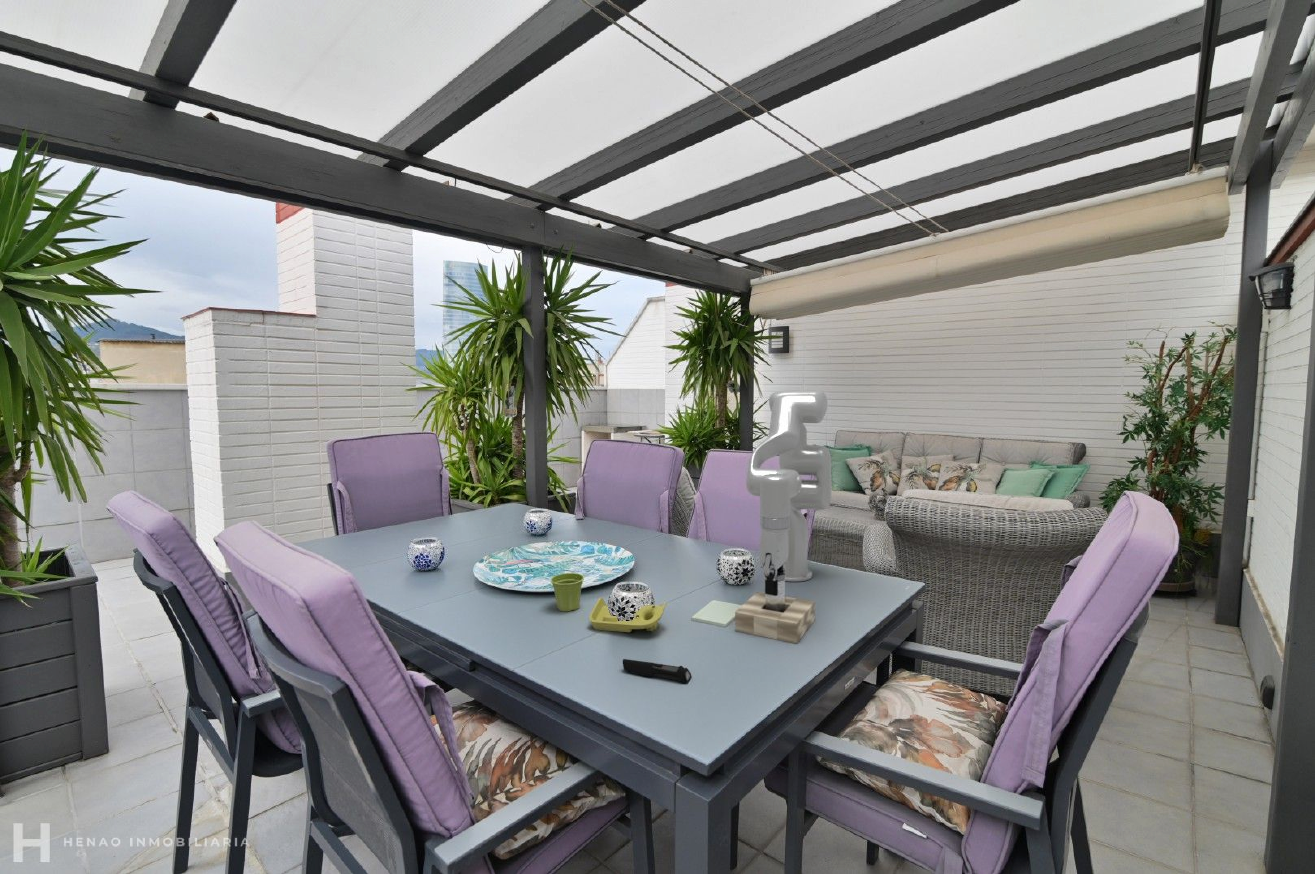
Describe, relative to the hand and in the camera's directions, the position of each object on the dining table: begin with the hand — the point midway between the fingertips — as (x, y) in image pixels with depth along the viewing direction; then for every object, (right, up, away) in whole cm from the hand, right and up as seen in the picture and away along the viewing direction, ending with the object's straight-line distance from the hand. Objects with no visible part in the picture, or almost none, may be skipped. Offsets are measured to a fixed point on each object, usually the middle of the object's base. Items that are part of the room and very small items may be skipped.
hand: (775, 590), depth 156 cm
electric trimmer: (-31, -13, -25) cm, 41 cm away
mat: (-14, -9, +8) cm, 18 cm away
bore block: (0, -9, 0) cm, 9 cm away
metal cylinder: (0, -6, +1) cm, 6 cm away
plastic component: (-38, -10, +1) cm, 39 cm away
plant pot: (-56, -9, +15) cm, 59 cm away
